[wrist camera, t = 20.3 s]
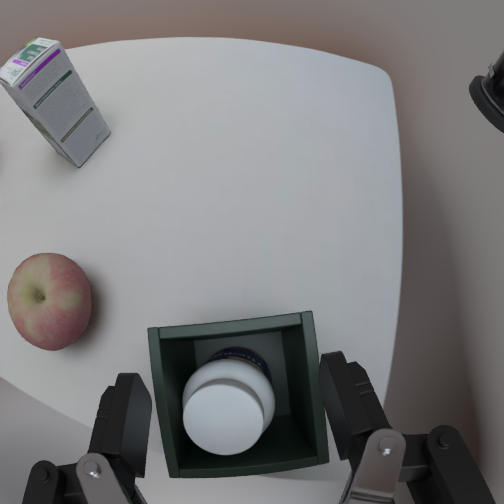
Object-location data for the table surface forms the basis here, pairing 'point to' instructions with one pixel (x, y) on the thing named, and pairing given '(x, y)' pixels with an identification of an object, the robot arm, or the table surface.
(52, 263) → the apple
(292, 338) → the trash can
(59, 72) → the syrup box
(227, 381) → the pill bottle
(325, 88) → the table surface
